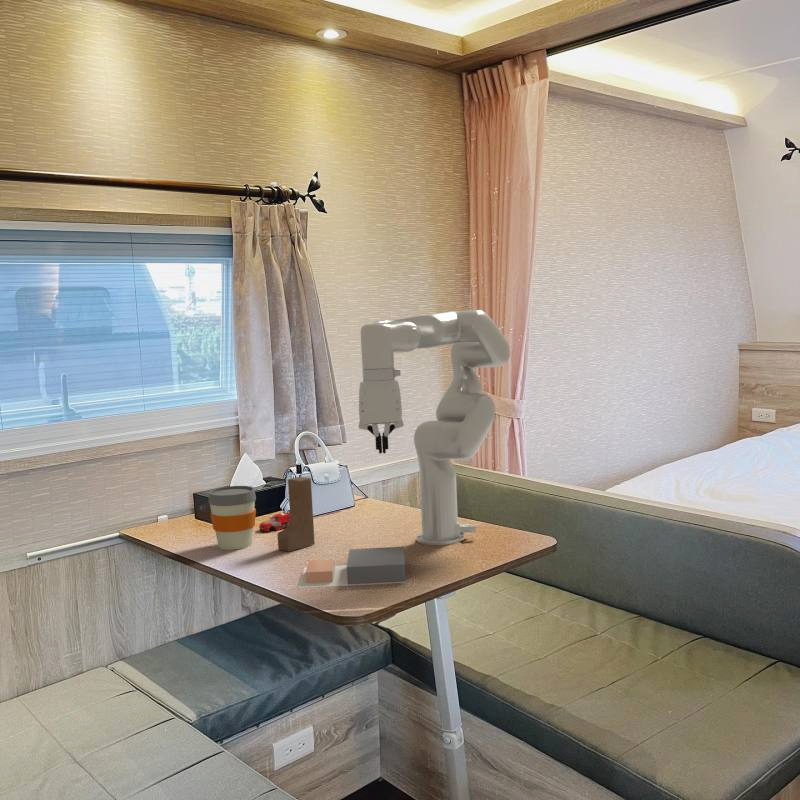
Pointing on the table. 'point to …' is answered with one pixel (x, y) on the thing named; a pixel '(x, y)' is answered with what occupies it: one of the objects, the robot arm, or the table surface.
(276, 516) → the race car
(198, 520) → the table surface
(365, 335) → the robot arm
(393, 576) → the grey flat block
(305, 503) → the wooden block
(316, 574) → the tile
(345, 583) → the mat
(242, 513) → the reusable coffee cup
